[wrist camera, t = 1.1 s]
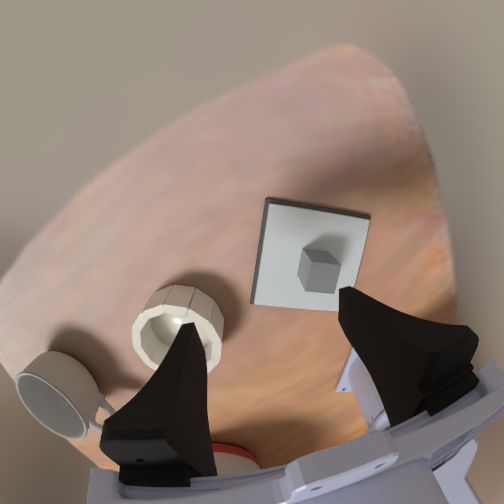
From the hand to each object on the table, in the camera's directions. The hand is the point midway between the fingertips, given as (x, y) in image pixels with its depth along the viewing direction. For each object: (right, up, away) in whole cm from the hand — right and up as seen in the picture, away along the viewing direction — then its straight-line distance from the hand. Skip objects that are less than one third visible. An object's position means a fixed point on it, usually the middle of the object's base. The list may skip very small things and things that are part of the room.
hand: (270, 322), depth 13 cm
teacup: (-23, -13, +16) cm, 31 cm away
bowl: (-8, -4, +13) cm, 16 cm away
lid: (+4, +3, +11) cm, 12 cm away
